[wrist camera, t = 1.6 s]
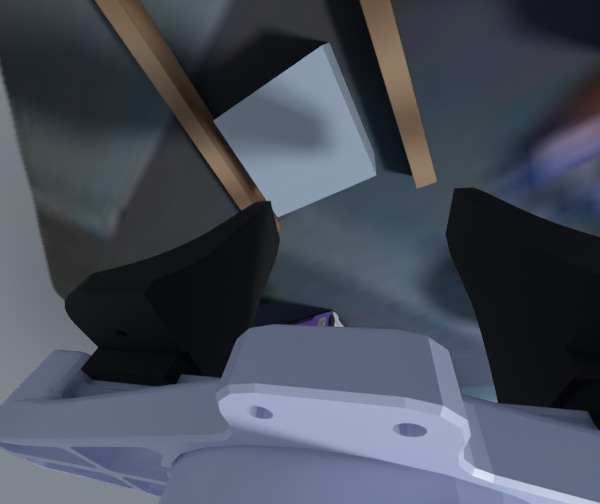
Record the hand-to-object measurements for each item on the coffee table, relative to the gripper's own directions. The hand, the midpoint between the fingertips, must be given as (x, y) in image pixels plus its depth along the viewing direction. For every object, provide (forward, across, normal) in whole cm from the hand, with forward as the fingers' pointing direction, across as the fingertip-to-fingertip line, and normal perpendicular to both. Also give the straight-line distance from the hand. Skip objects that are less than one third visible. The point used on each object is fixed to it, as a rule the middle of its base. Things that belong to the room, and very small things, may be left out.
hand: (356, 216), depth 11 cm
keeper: (+10, +4, -1) cm, 11 cm away
